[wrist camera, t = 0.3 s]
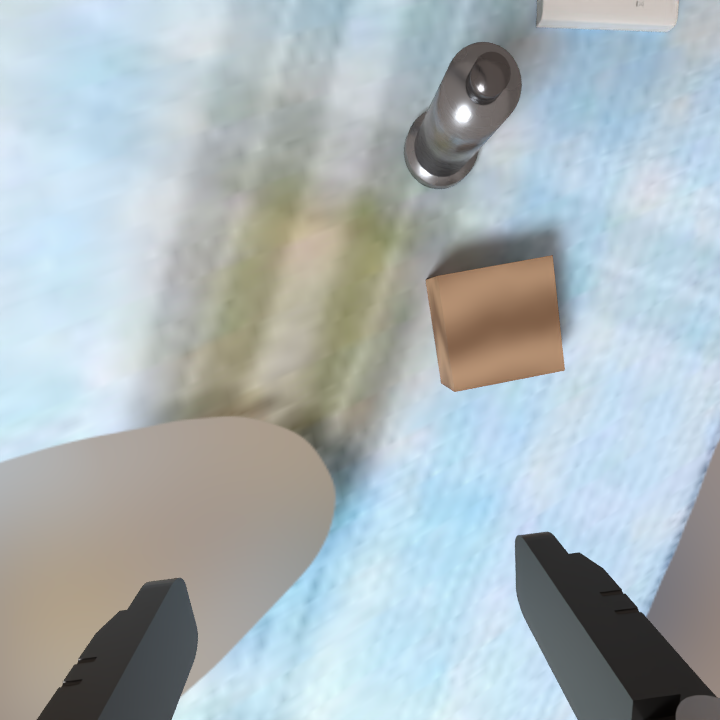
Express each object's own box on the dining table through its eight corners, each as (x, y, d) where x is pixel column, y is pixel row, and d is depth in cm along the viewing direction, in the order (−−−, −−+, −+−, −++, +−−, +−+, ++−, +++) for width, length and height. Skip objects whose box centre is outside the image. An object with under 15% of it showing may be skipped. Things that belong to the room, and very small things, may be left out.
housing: (398, 119, 33) (432, 22, 22) (468, 108, 34) (536, 7, 23) (410, 194, 34) (448, 136, 23) (478, 183, 34) (547, 121, 23)
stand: (425, 280, 35) (437, 275, 31) (527, 261, 36) (552, 255, 32) (441, 383, 36) (454, 391, 33) (539, 364, 37) (564, 370, 33)
